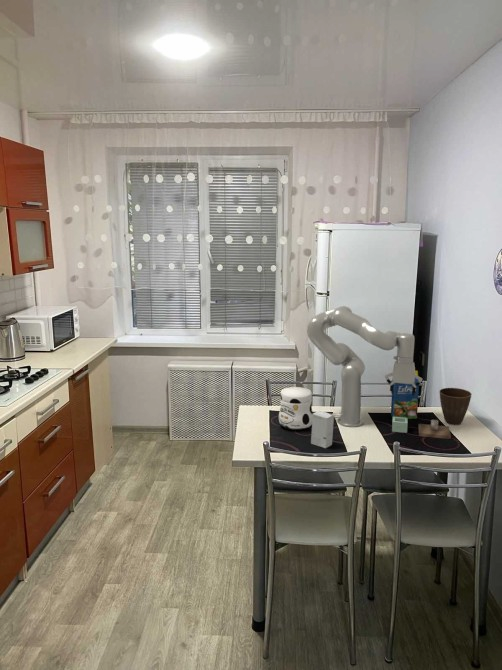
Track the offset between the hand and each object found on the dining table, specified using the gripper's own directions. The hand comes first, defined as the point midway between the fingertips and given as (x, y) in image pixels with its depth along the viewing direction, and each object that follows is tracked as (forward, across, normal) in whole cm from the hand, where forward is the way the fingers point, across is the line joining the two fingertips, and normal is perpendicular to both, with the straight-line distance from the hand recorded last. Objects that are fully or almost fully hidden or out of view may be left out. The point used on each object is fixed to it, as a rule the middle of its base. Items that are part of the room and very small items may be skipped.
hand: (402, 393), depth 247 cm
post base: (+18, +16, 0) cm, 24 cm away
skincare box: (+19, -34, -27) cm, 48 cm away
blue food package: (+19, +2, +18) cm, 26 cm away
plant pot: (+18, +26, +16) cm, 35 cm away
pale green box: (+18, 0, 0) cm, 18 cm away
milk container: (+19, -50, -8) cm, 54 cm away
